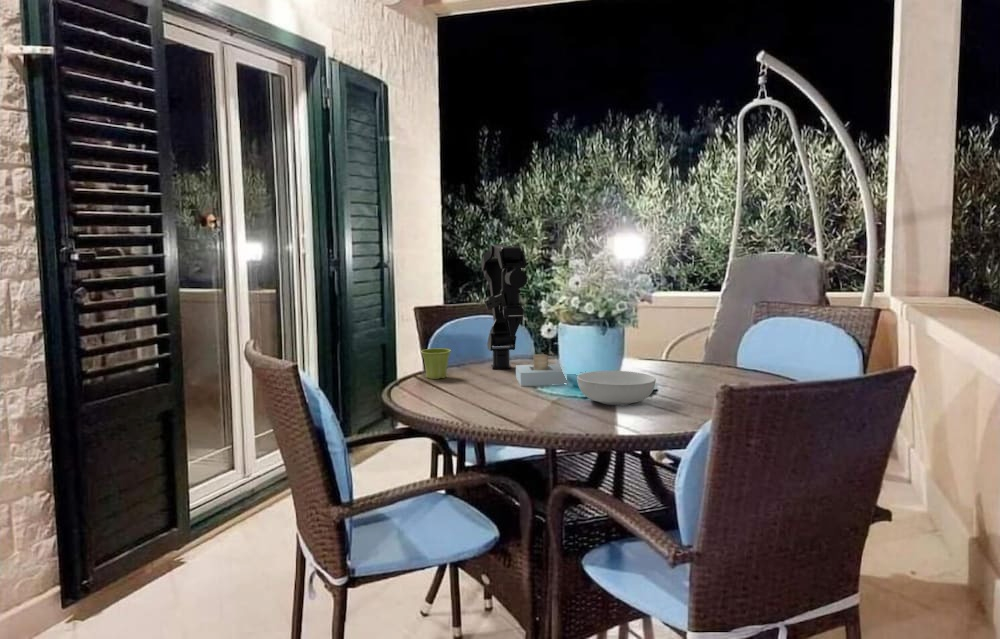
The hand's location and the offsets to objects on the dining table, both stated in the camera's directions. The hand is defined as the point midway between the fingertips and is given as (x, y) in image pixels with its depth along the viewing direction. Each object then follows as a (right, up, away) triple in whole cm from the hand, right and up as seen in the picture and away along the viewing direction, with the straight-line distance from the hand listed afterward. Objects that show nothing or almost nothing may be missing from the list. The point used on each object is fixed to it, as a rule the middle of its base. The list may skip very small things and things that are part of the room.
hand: (511, 335), depth 254 cm
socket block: (+9, -14, -9) cm, 19 cm away
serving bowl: (+28, -17, -39) cm, 51 cm away
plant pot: (-24, -14, -1) cm, 27 cm away
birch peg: (+9, -14, -9) cm, 19 cm away
